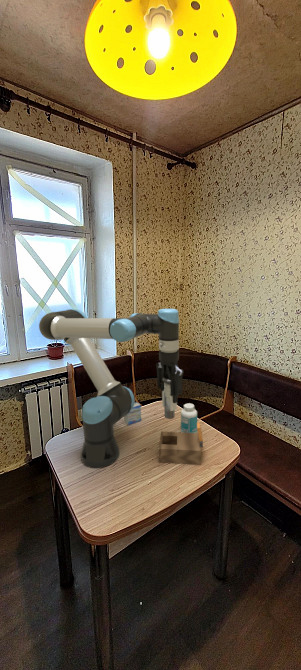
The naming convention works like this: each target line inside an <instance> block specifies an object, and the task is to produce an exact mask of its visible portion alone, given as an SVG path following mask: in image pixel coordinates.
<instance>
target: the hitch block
mask: <svg viewBox="0 0 301 670" xmlns="http://www.w3.org/2000/svg"><path fill="white" fill-rule="evenodd" d="M203 447H204V440H203V441H200V440H199V435H198V432H197V433H183V432H181V431H180V432H178V431H177V432H176V431H162V430H161V431H160V436H159V443H158V463H163V464H177V465H179V464H181V465H193V466H194V465H195V466H197V465H198V466H201V465H202V464H201V463H202V461H201V458H202V454H201V453H202V450H201V449H202V448H203Z"/></svg>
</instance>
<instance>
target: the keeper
mask: <svg viewBox="0 0 301 670" xmlns="http://www.w3.org/2000/svg"><path fill="white" fill-rule="evenodd" d="M197 433H198V435H199V440H200V441H203V442H204V440H203V432H202V427H201V422H200V421H199V422H198V421H197Z"/></svg>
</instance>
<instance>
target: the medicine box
mask: <svg viewBox="0 0 301 670" xmlns="http://www.w3.org/2000/svg"><path fill="white" fill-rule="evenodd" d="M141 421H142V406H141V404H140V403H139V402H134V406H133V408H132V410H131V411H130V412H129V413H128V414H127V415H125V416H124V417H123V422H124V423H125V424H126V425H128V426H130V425H134V424H135V423H139V422H141Z"/></svg>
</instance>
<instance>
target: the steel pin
mask: <svg viewBox="0 0 301 670" xmlns="http://www.w3.org/2000/svg"><path fill="white" fill-rule="evenodd" d="M162 381H163V382H164V407H163V409H164V410H163V411H164V418H165V419H168V420H172V419H175V417H176V414H175V413H176V410H173V411H170V394H172V392H171V386H170V383H171V380H170V379H169V377H165V378H164V377H163V378H162Z"/></svg>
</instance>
